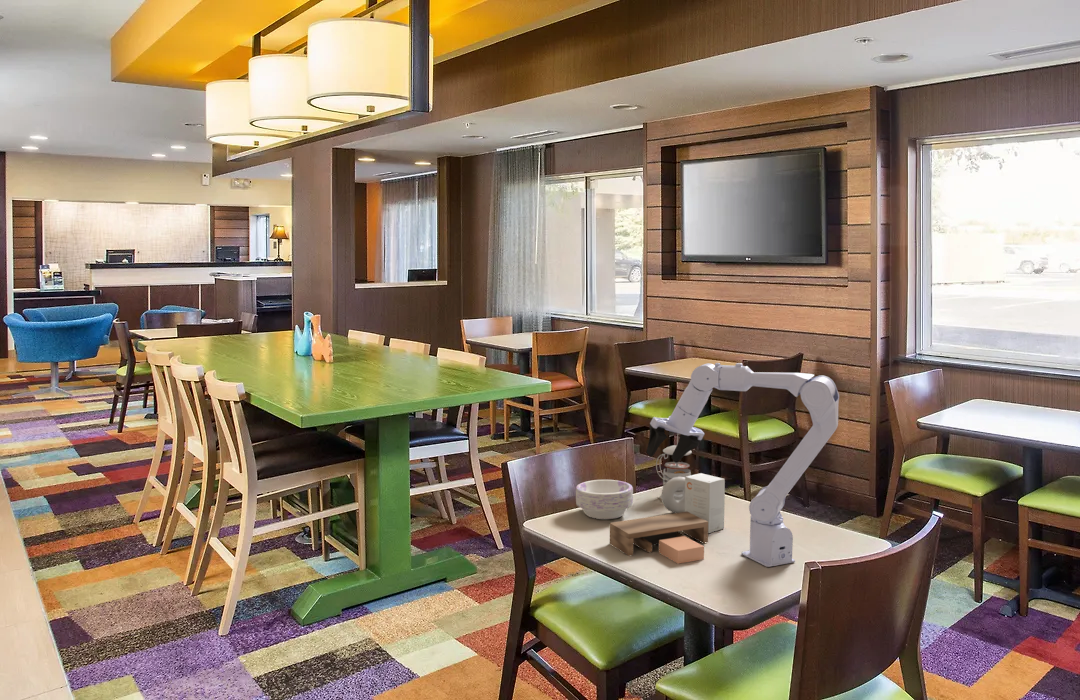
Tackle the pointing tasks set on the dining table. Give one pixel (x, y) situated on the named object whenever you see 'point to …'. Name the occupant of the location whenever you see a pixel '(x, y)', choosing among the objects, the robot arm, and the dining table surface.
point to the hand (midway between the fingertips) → (661, 457)
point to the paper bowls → (604, 498)
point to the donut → (669, 495)
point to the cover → (681, 549)
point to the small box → (706, 499)
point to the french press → (674, 470)
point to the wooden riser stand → (656, 530)
